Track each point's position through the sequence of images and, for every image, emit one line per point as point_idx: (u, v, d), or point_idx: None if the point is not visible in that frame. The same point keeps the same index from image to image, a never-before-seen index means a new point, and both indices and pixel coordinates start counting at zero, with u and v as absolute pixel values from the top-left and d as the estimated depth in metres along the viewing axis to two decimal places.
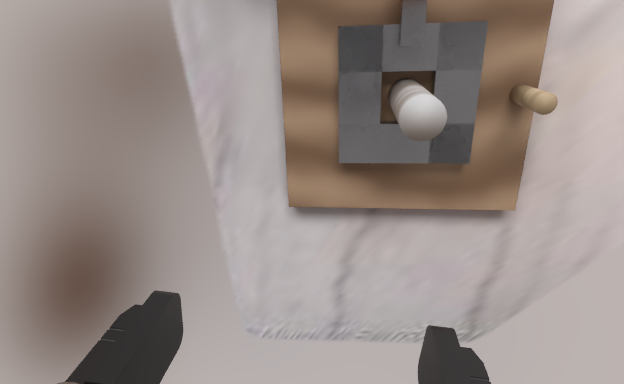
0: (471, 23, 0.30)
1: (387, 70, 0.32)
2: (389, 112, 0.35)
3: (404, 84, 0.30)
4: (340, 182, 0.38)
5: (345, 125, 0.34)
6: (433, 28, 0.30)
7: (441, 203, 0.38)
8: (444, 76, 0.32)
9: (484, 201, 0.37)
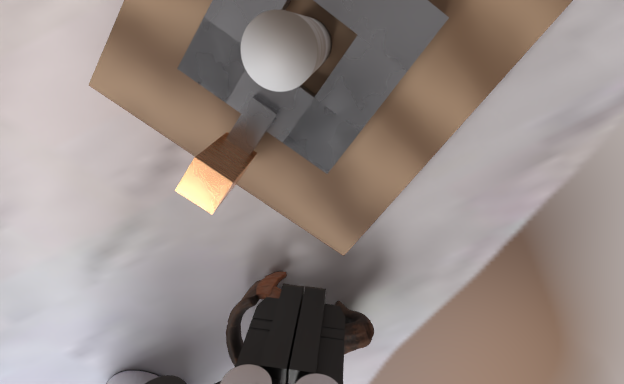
0: (195, 78, 0.24)
1: (307, 94, 0.24)
2: (338, 35, 0.24)
3: None
4: None
5: (399, 65, 0.23)
6: (235, 102, 0.24)
7: None
8: None
9: None
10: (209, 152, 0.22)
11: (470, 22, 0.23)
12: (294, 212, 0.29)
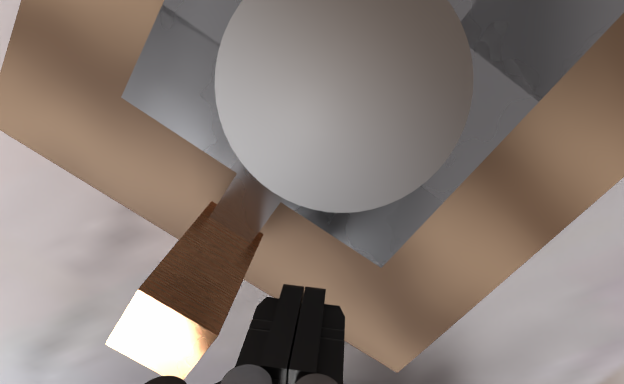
0: (153, 114, 0.14)
1: None
2: None
3: None
4: None
5: (526, 88, 0.12)
6: (224, 153, 0.14)
7: None
8: None
9: None
10: (172, 262, 0.11)
11: None
12: None
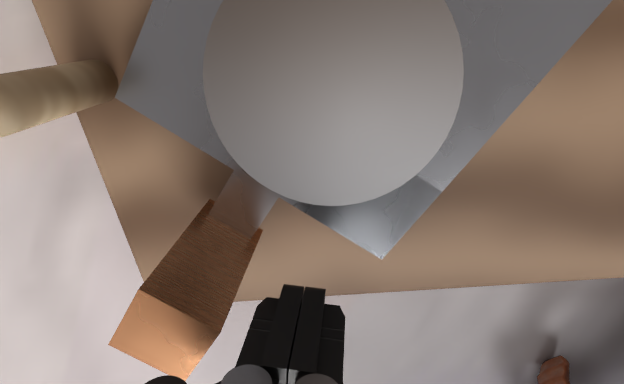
0: (147, 113, 0.14)
1: None
2: None
3: None
4: None
5: (522, 74, 0.12)
6: (221, 150, 0.14)
7: None
8: None
9: None
10: (172, 261, 0.11)
11: None
12: (507, 270, 0.17)
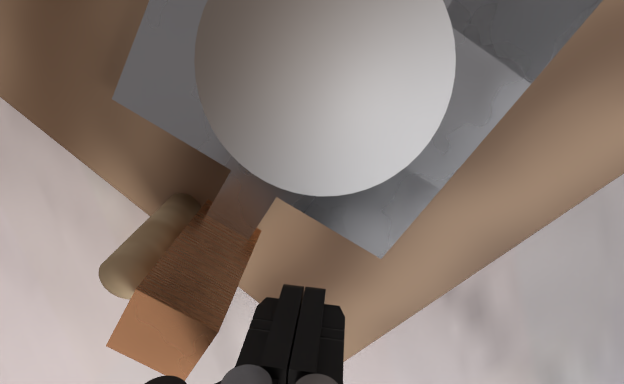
0: (144, 114, 0.14)
1: None
2: None
3: None
4: None
5: (518, 71, 0.12)
6: (218, 150, 0.14)
7: None
8: None
9: None
10: (170, 261, 0.11)
11: None
12: None
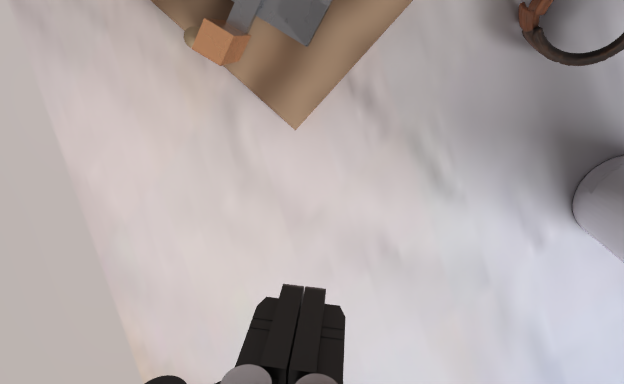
0: None
1: None
2: None
3: None
4: None
5: None
6: None
7: None
8: None
9: None
10: (214, 20, 0.29)
11: None
12: None
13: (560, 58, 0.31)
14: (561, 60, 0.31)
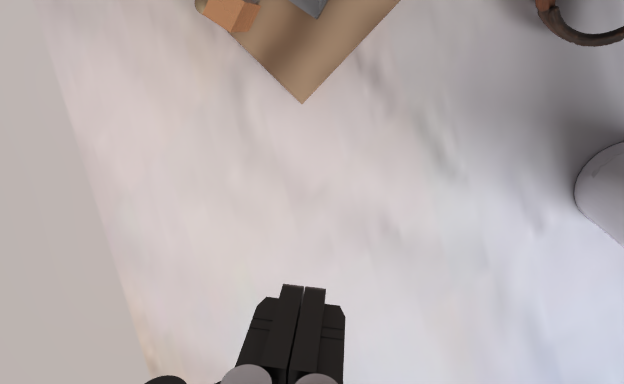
0: None
1: None
2: None
3: None
4: None
5: None
6: None
7: None
8: None
9: None
10: None
11: None
12: None
13: (575, 38, 0.31)
14: (576, 40, 0.31)
